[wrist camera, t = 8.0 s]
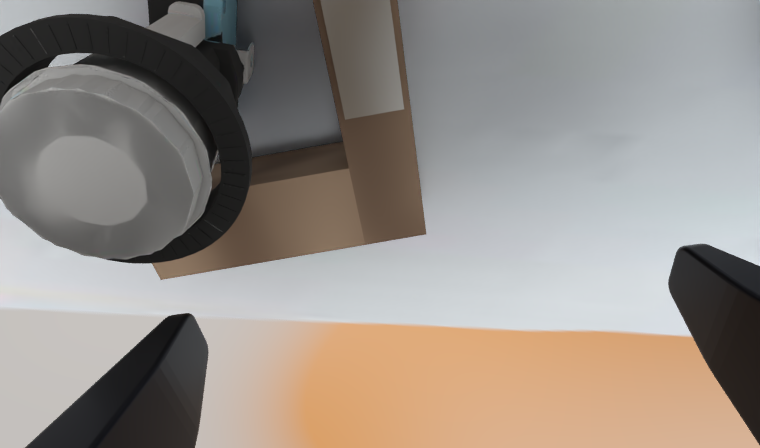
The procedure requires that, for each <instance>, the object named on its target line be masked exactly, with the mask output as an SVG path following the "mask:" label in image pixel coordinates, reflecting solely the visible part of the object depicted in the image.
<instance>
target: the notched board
mask: <svg viewBox="0 0 760 448" xmlns="http://www.w3.org/2000/svg"><path fill="white" fill-rule="evenodd" d="M313 4H314V9H315V13H316V18H317V23H318V27H319V32H320V37H321V41H322V46H323V51H324V55H325V60H326V64H327V69H328V74H329V78H330V83H331V88H332V92H333V97H334V102H335V106H336V111H337V116H338V120H339V125H340V129H341V134H342V139H343V142H338V143H332V144H326V145H321V146H315V147H309V148H304V149H298V150H292V151H287V152H281V153H275V154H270V155H264V156H258V157H253V158H252V175H251V182H250V187H249V190H248V194H247V197H246V200H245V203H244V205H243V208H242V210H241V212H240V214H239V216H238V217H237V219H236V221H235V222H234V223H233V225H232V226H231V227H230V229H229V230H228V231H227V232H226V233H225V234H224V235H223V236H222V237H221V238H219V239H218V240H217V241H215V242H214V243H213V244H211V245H210V246H208V247H206V248H205V249H203V250H201V251H199V252H197V253H195V254H192V255H189V256H187V257H184V258H180V259H176V260H172V261H166V262H160V263H152V264H153V266H154V268H155V270H156V272H157V274H158V275H159V277H160V279H161V280H162V279H168V278H174V277H180V276H186V275H192V274H197V273H203V272H209V271H215V270H221V269H226V268H232V267H238V266H244V265H250V264H256V263H261V262H267V261H273V260H279V259H285V258H290V257H296V256H302V255H308V254H314V253H320V252H325V251H331V250H337V249H343V248H349V247H354V246H360V245H366V244H372V243H378V242H384V241H389V240H395V239H401V238H407V237H413V236H418V235H424V234H426V229H425V220H424V212H423V204H422V196H421V188H420V180H419V172H418V164H417V156H416V148H415V140H414V131H413V123H412V115H411V107H410V99H409V91H408V83H407V75H406V67H405V59H404V51H403V43H402V34H401V26H400V18H399V10H398V2H397V0H313ZM211 175H212V189H211V191H212V190H213V189H214V188H216V186H217V185H218V184H219V183H220V181H221V163H219V164H214V167H213V169H212V171H211Z"/></svg>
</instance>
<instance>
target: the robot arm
mask: <svg viewBox="0 0 760 448" xmlns="http://www.w3.org/2000/svg"><path fill="white" fill-rule="evenodd" d="M668 285H669V290H670V293H671V295H672V297H673V299H674V301H675V303H676V305H677V307H678V309H679V311H680V313H681V315H682V317H683V319H684V321H685V323H686V325H687V327H688V329H689V331H690V333H691V334H692V336H693V338H694V340H695V342H696V344H697V346H698V348H699V350H700V352H701V354H702V355H703V358H704V359H705V361H706V363H707V365H708V366H709V368H710V370H711V371H712V373H713V374H714V376H715V378H716V379H717V381H718V382H719V384H720V385H721V387H722V388H723V390H724V391H725V393H726V394H727V396H728V397H729V399H730V400H731V402H732V404H733V405H734V407H735V408H736V410H737V411H738V413H739V414H740V416H741V417H742V419H743V420H744V422H745V423H746V425H747V427H748V428H749V430H750V431H751V433H752V434H753V436H754V437H755V439H756V440H757V442H758V443H759V445H760V266H758V265H755V264H753V263H751V262H748V261H746V260H743V259H741V258H738V257H736V256H734V255H731V254H729V253H726V252H724V251H722V250H719V249H717V248H714V247H712V246H710V245H707V244H695V245H687V246H682V247H680V248H679V249H678V250H677V252H676V255H675V259H674V262H673V266H672V269H671V273H670V277H669V282H668ZM207 361H208V345H207V342H206V340H205V338H204V336H203V334H202V332H201V330H200V328H199V326H198V324H197V322H196V319H195V318H194V316H193V315H192V314H189V313H185V314H177V315H171V316H168V317H167V318H165V319H164V320H163V321H162V322H161V323H160V324H159V325H158V326H157V327H156V328H155V329H153V330H152V331H151V332H150V333H149V334H148V335H147V336H146V337H145V338H144V339H143V340H141V341H140V342H139V343H138V344H137V345H136V346H135V347H134V348H133V349H132V350H131V351H130V352H129V353H127V354H126V355H125V356H124V357H123V358H122V359H121V360H120V361H119V362H118V363H116V364H115V365H114V366H113V367H112V368H111V369H110V370H109V371H108V372H107V373H106V374H105V375H103V376H102V377H101V378H100V379H99V380H98V381H97V382H96V383H95V384H94V385H93V386H91V388H89V389H88V390H87V391H86V392H85V393H84V394H83V395H82V396H81V397H80V398H78V399H77V400H76V401H75V402H74V403H73V404H72V405H71V406H70V407H69V408H68V409H67V410H65V411H64V412H63V413H62V414H61V415H60V416H59V417H58V418H57V419H56V420H55V421H53V423H51V424H50V425H49V426H48V427H47V428H46V429H45V430H44V431H43V432H42V433H40V434H39V435H38V436H37V437H36V438H35V439H34V440H33V441H32V442H31V443H30V444H28V445H27V446H26V447H25V448H195V445H196V440H197V435H198V430H199V424H200V417H201V409H202V401H203V393H204V385H205V377H206V369H207Z"/></svg>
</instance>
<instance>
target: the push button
mask: <svg viewBox="0 0 760 448" xmlns="http://www.w3.org/2000/svg"><path fill="white" fill-rule="evenodd" d="M148 9H149V22H150V25H149V26H148V27H146V28H144V27H142V26H139V25H136V24H134V23H131V22H128V21H125V20H123V19H120V18H117V17H114V16H98V15H90V14H67V15H56V16H51V17H47V18H42V19H38V20H36V21H33V22H30V23H28V24H25V25H22V26H19V27H17V28H14V29H12V30H10V31H9V32H7V33H5V34H3V35H1V36H0V199H1V200H2V201H3V203H4V205H5V206H6V208H7V209H8V210H9V211H10V212H11V214H12V215H14V216H15V217H16V218H18V219H19V220H21V221H22V222H23V223H25V224H26V225H27V226H28V227H29V228H31V229H32V230H33V231H34V232H35V233H37V234H38V235H39V236H40V237H41V238H43V239H45V240H48V241H50V242H52V243H53V244H54V245H56V246H60V247H63V248H67V249H69V250H72V251H74V252H77V253H79V254H81V255H84V256H93V257H98V258H103V259H107V260H112V261H118V262H126V263H160V262H166V261H172V260H176V259H180V258H184V257H187V256H189V255H192V254H195V253H197V252H199V251H201V250H203V249H205V248H206V247H208V246H210V245H211V244H213V243H214V242H215V241H217V240H218V239H219V238H221V237H222V236H223V235H224V234H225V233H226V232H227V231H228V230H229V229H230V227H231V226H232V225H233V223H234V222H235V221H236V219H237V217H238V216H239V214H240V212H241V210H242V208H243V205H244V203H245V200H246V197H247V194H248V190H249V187H250V182H251V175H252V154H251V147H250V142H249V138H248V134H247V131H246V128H245V125H244V122H243V120H242V118H241V116H240V114H239V112H238V109H237V107H238V98H239V96H240V94H241V90H242V87H243V84H247V83H248V81H249V79H250V77H251V75H252V74H253V66H254V43H252V42H251V44H250V46H249V47H248V49H247V51H242V50H236V21H237V0H148ZM69 53H93V54H91V55H89V56H87V57H86V58H84V59H82V60H80V61H79V62H77V63H75V64H73V65H68V66H58V67H48V66H49V64H50V63H51V62H52V60H53V59H54V58H55V57H56V56H57V55H61V54H69ZM218 152H219V156H220V163H221V181H220V183H219V184H218V185H217V186H216V188H214V189H213V190H212V191H211V189H212V175H211V171H212V169H213V167H214V164H215V161H216V158H217V155H218Z"/></svg>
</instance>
